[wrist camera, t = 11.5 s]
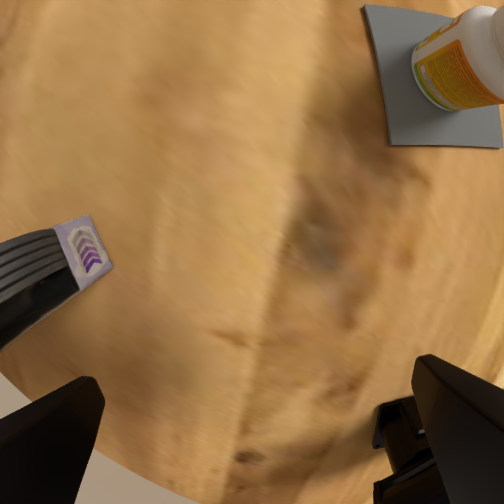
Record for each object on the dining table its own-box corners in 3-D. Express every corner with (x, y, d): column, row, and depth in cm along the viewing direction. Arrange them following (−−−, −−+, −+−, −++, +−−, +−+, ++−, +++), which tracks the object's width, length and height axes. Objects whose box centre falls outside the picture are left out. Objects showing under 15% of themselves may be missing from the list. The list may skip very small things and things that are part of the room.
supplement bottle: (469, 123, 16) (571, 118, 7) (405, 95, 16) (500, 60, 7) (473, 58, 15) (562, 27, 5) (411, 28, 15) (489, -33, 5)
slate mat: (500, 147, 17) (503, 147, 16) (389, 145, 17) (392, 145, 17) (476, 26, 14) (479, 25, 13) (363, 6, 15) (364, 4, 14)
